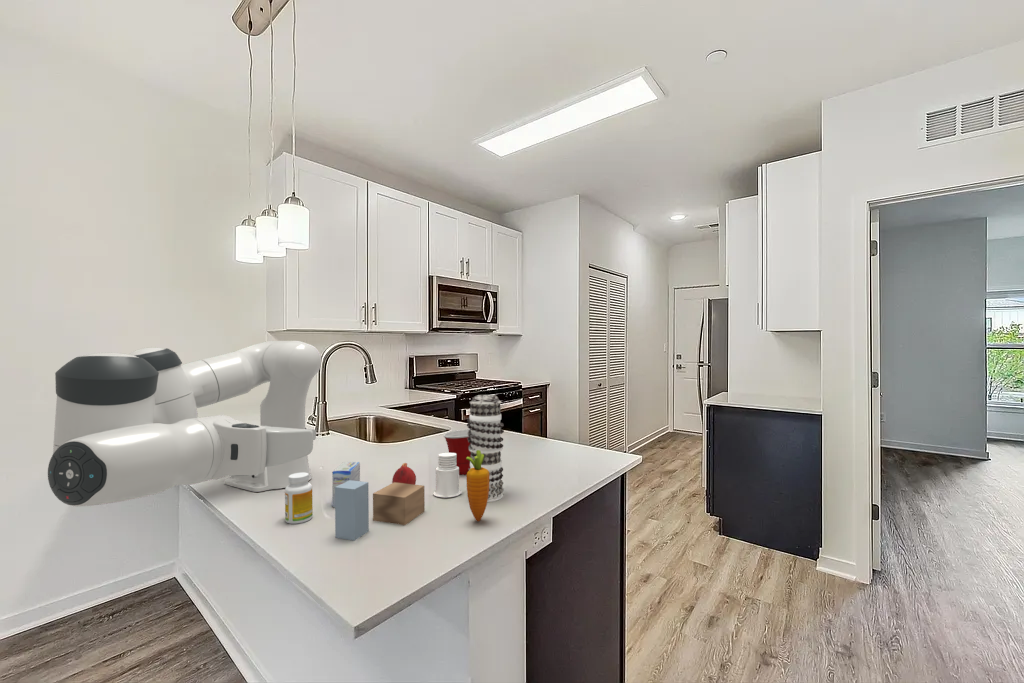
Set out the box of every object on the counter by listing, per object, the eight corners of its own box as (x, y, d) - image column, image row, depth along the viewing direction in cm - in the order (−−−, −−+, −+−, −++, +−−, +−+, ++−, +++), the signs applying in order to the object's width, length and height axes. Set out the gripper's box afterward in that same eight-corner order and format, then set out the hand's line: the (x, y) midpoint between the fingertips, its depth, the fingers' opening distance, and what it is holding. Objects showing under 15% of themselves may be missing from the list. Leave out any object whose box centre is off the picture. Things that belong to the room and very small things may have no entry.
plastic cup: (449, 466, 137) (448, 427, 137) (483, 467, 136) (483, 428, 135) (438, 476, 126) (438, 434, 126) (475, 478, 125) (475, 435, 125)
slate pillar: (335, 537, 88) (335, 487, 88) (350, 528, 92) (349, 480, 92) (354, 540, 86) (354, 489, 86) (368, 531, 91) (368, 482, 91)
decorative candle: (459, 496, 110) (458, 396, 110) (486, 487, 117) (485, 392, 117) (485, 505, 104) (484, 399, 104) (511, 495, 111) (511, 395, 111)
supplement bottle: (317, 515, 99) (317, 472, 99) (301, 525, 94) (301, 479, 94) (297, 513, 100) (296, 470, 100) (279, 523, 95) (279, 477, 95)
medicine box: (342, 496, 111) (341, 461, 111) (360, 495, 111) (360, 461, 111) (332, 508, 103) (331, 471, 103) (351, 507, 104) (351, 470, 104)
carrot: (480, 528, 92) (480, 455, 91) (461, 523, 94) (461, 452, 94) (494, 519, 96) (493, 450, 96) (475, 515, 98) (475, 447, 98)
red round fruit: (410, 499, 108) (409, 466, 108) (388, 498, 109) (388, 465, 109) (419, 491, 114) (419, 460, 114) (398, 490, 115) (398, 459, 115)
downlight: (459, 499, 108) (459, 457, 109) (430, 499, 108) (430, 457, 109) (463, 489, 116) (463, 451, 117) (436, 489, 116) (436, 451, 117)
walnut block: (373, 521, 96) (372, 493, 96) (394, 507, 104) (394, 482, 104) (405, 526, 93) (405, 497, 93) (424, 512, 101) (424, 485, 101)
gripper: (162, 463, 66) (246, 446, 79) (264, 476, 59) (337, 455, 72) (164, 421, 67) (247, 411, 80) (265, 429, 60) (338, 416, 73)
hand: (291, 432), depth 76 cm, fingers open, 8 cm apart
